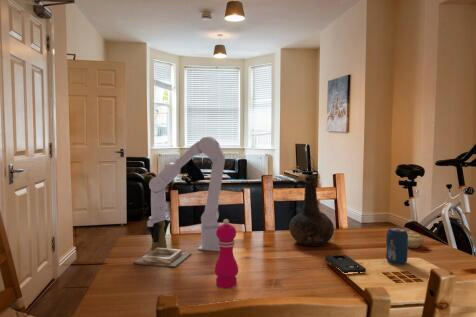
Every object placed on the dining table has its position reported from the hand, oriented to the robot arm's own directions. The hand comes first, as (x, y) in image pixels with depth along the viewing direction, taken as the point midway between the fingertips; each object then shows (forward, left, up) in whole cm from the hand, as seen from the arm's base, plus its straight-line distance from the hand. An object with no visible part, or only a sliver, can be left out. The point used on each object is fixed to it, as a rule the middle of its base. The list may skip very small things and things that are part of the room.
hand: (159, 240), depth 150 cm
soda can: (-89, -7, -3) cm, 89 cm away
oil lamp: (-97, -31, -3) cm, 102 cm away
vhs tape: (-71, +2, -4) cm, 72 cm away
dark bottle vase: (-58, -22, -3) cm, 62 cm away
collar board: (-8, +12, -3) cm, 15 cm away
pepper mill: (-37, +27, -3) cm, 46 cm away
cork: (0, 0, -3) cm, 3 cm away
